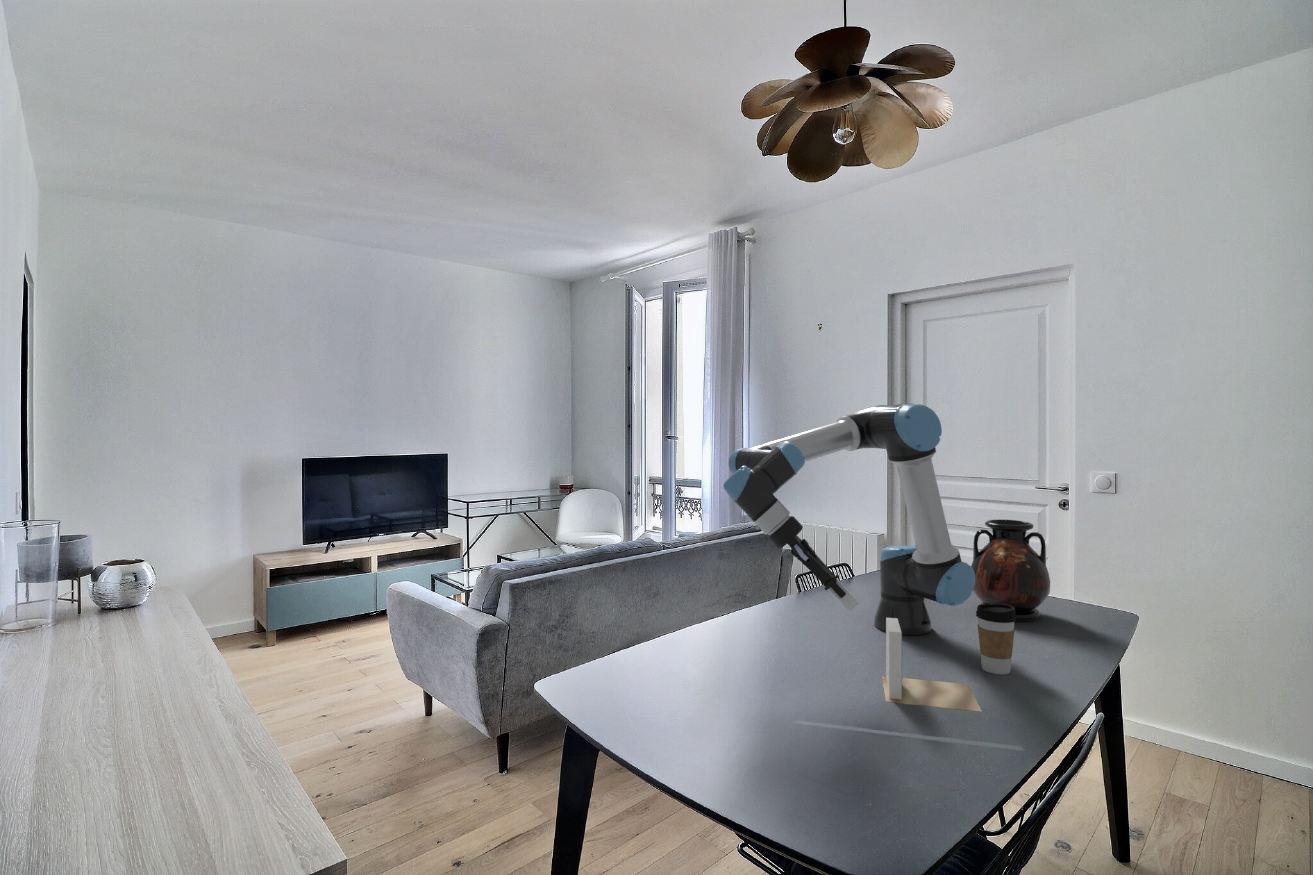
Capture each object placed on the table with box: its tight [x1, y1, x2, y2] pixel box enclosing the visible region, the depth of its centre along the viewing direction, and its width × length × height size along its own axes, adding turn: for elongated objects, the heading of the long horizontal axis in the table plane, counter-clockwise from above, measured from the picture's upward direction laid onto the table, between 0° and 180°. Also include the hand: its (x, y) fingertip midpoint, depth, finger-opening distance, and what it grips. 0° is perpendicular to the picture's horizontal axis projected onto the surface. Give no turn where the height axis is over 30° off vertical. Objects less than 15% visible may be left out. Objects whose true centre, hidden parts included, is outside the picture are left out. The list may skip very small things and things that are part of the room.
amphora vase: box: [970, 519, 1051, 622], centre depth 194 cm, size 22×22×28 cm
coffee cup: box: [975, 604, 1017, 676], centre depth 151 cm, size 8×8×15 cm
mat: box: [881, 675, 983, 713], centre depth 137 cm, size 18×14×1 cm
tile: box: [885, 618, 903, 699], centre depth 139 cm, size 3×10×14 cm, turn 164°
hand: (854, 606), depth 141 cm, fingers closed
